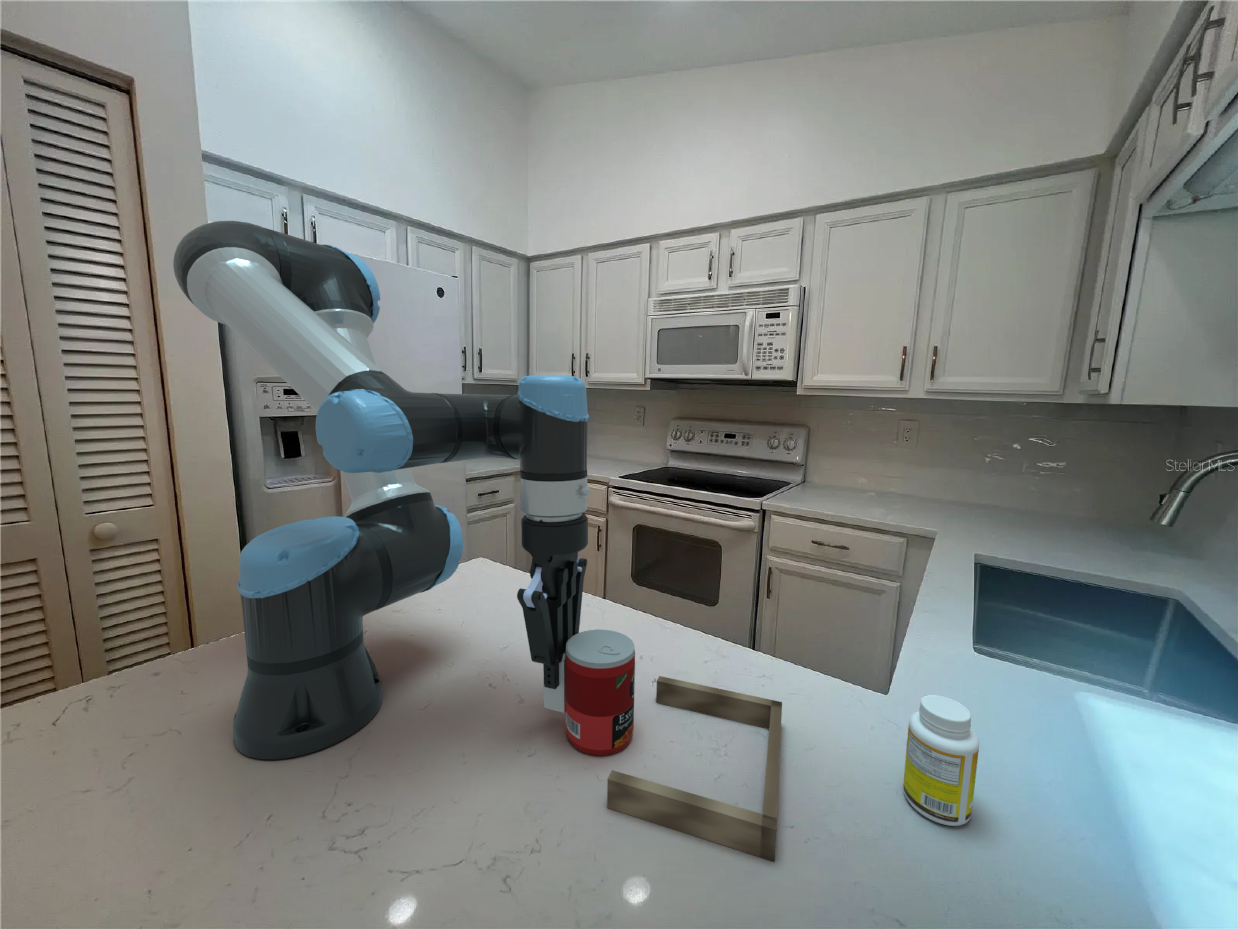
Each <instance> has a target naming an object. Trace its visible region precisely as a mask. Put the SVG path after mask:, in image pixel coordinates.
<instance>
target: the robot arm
mask: <svg viewBox="0 0 1238 929" xmlns="http://www.w3.org/2000/svg"><path fill="white" fill-rule="evenodd" d="M172 264H173V265H172V266H173V271H174V272H173V273H174V277H175V279H176V282H177V284H178V286H179V288H180V290H181V291H182V292H183V294H184V295H185V297H186V298H187V300H189V301H190V303H191V304H192V305H193V306H195V307H196V309H197V310H198V311H199V312H201V313H202V314H203V315H204V316H206V317H208V318H209V319H211V320H213V321H215V322H217V323H219V324H223V325H226V326H228V327H229V328H230V329H231V330H232V331H233V332H234V333H235V334H237V336H238V337H239V338H241V339H242V340H243V341H244V343H246V344H247V345H248V346H249V347H250V348H251V349H252V350H253V352H254V353H256V354H257V355H258V356H259V357H260V358H261V359H262V360H263V361H264V362H265V363H266V364H267V365H268V366H269V367H270V368H271V369H272V370H273V371H274V372H275V373H276V374H277V375H278V376H280V378H282V379H283V381H285V382H286V383H287V385H289V386H290V387H291V388H292V389H293V390H294V391H295V392H296V393H297V394H298V395H299V396H300V397H301V398H302V399H303V400H304V401H305V402H306V403H307V404H308V405H309V406H310V407H312V409H313V410H314V411H315V412H316V413H317V414H316V418H315V433H316V440H317V443H318V445H319V446H320V447H322V455H323V458H325V460H326V461H327V462H328V463H329V464H330V465H331V466H332V467H333V468H334V469H336V470H339V471H340V472H342V475H343V478H344V482H345V484H346V487H347V490H348V493H349V497H350V500H351V504H350V506H349V508H348V509H347V511H346V513H345V514H344V516H320V517H318V518H314V519H309V518H308V519H303V520H298V521H294V522H290V523H287V524H283V525H281V526H277V527H275V528H272V529H270V530H268V531H266V532H263V533H261V534H259V535H258V536H255V537H254V538H253V539H251V540H250V541H249V543H247V544H246V545H245V546H244V547H243V549H242V550H241V552H240V555H239V559H238V561H239V562H238V563H239V567H238V569H239V570H238V571H239V573H238V575H239V576H238V583H237V590H238V592H239V594H240V604H241V612H242V613H241V614H242V620H243V621H242V622H243V631H244V640H245V641H244V642H245V651H246V652H245V653H246V660H247V673H246V674H247V675H246V677H245V681H244V684H243V687H242V691H241V693H240V697H239V702H238V704H237V705H238V706H237V710H236V711H235V713H234V716H233V723H232V728H233V739H234V745H235V747H236V749H237V750H238V751H239V752H240V753H241V754H242V755H244V756H246V757H249V758H253V759H257V760H281V759H291V758H296V757H300V756H304V755H308V754H311V753H315V752H317V751H320V750H323V749H325V748H328V747H330V746H333V745H335V744H336V743H339V742H341V741H343V740H345V739H346V738H348V737H350V736H352V735H353V734H356V732H358V731H360V730H361V729H362V728H363V727H364V726H366V725H367V724H368V723H369V722H370V721H371V720H372V719H373V718H374V717H375V716H376V714H377V713H378V711H379V710H380V708H381V707H382V703H383V698H384V696H383V682H382V679H381V675H380V673H379V672H378V669H377V667H376V665H375V663H374V661H373V658H372V657H371V654H370V653H369V650H368V649H367V646H366V645H365V639H364V623H363V622H364V620H363V619H364V618H363V617H364V616H366V615H368V614H370V613H372V612H375V611H378V610H380V609H383V608H386V607H388V606H390V605H393V604H395V603H397V602H400V601H403V600H405V599H407V598H410V597H412V596H415V595H417V594H422V593H424V592H427V591H430V590H433V589H434V588H435V587H436V586H438V585H440V584H441V583H444V582H446V581H447V580H449V579H450V578H451V577H452V576H453V575H454V574H455V572H456V571H457V570H458V568H459V564H460V561H461V560H462V558H463V552H464V537H463V531H462V530H463V529H462V527H461V525H460V521H459V520H458V518H457V517H456V515H455V514H454V513H452V512H450V509H448V508H447V507H444V506H442V505H441V506H440V505H438V504H435V503H434V500H433V496H432V493H431V491H430V490H429V489H427V488H424V487H422V486H420V485H419V484H417V483H416V481H415V478H414V475H413V472H412V469H411V468H416V467H417V468H418V467H422V466H428V465H430V466H431V465H437V464H445V463H455V462H460V461H468V460H469V461H471V460H476V459H477V460H478V459H487V458H488V459H489V458H490V459H491V458H494V459H511V460H519V468H520V469H519V471H520V474H519V475H520V511H521V512H522V513H523V514H524V516H523V517H522V518H521V520H520V522H521V525H520V526H521V528H520V529H521V547H522V548H523V550H525V551H526V552H527V553H528V554H530V556H531V558H532V559H531V565H530V570H529V576H530V583H529V585H528V586H527V587H526V588H519V589H518V590H517V594H516V599H517V601H518V603H519V604H520V606H521V608H522V612H523V619H524V625H525V630H526V637H527V643H528V647H529V648H528V649H529V653H530V654H529V655H530V658H531V661H532V662H534V663H538V664H543V667H542V668H543V669H542V670H543V708H544V709H548V710H552V711H555V712H559V713H563V714H566V700H565V650H566V643H567V641H568V640H569V639H570V638H571V637H572V636H574V635H575V634H578V633H580V626H581V614H582V613H581V612H582V603H583V591H584V581H585V575H586V570H587V566H588V560H587V558H585V557H579V552H581V551H582V550H584V549H586V548H587V545H588V544H589V517H588V516H587V514H586V511H587V510H588V496H589V495H590V494H591V491H592V490H591V488H590V486H588V428H589V427H588V425H589V420H590V415H589V412H588V400H587V387H586V383H585V382H584V380H583V379H582V378H580V377H577V376H574V375H561V374H560V375H555V374H552V375H551V374H537V375H535V374H534V375H524V376H523V377H521V378H520V379H519V381H518V390H517V392H516V393H515V394H479V393H438V392H437V393H436V392H414V391H413V392H412V391H410V390H407V389H405V388H404V387H403V386H401V384H399V383H398V382H397V381H396V380H394V379H393V378H392V377H390V376H389V375H388V374H387V373H386V372H384V370H382V369H381V368H380V367H379V366H378V365H376V361H375V359H374V356H373V352H372V350H371V347H370V344H369V340H368V338H369V336H370V335H371V334H372V332H373V330H374V327H375V326H374V324H375V323H376V321H377V319H378V316H379V314H380V309H381V306H380V305H379V304H378V303H379V302H380V301H381V293H380V292H381V291H380V288H379V284H378V281H377V279H376V276H375V274H374V273H373V271H372V269H371V268H370V266H369V265H367V263H366V262H365V261H363V259H361V258H360V257H359V256H357V255H355V254H353V253H349V252H348V251H344V250H342V249H341V248H340V247H336V246H334V245H331V244H320V243H316V242H313V241H310V240H307V239H302V238H299V237H296V236H293V235H290V234H287V233H284V232H280V231H277V230H275V229H270V228H266V227H264V226H261V225H258V224H254V223H251V222H246V221H239V220H237V221H236V220H218V221H217V220H216V221H212V222H208V223H204V224H202V225H200V226H197V227H195V228H194V229H192V230H190V231H189V232H187V233H186V234H185V235H184V236H183V237H182V238H181V240H180V242H178V244H177V246H176V249H175V252H174V255H173V262H172ZM378 301H379V302H378Z"/></svg>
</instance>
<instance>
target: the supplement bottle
mask: <svg viewBox="0 0 1238 929" xmlns="http://www.w3.org/2000/svg"><path fill="white" fill-rule="evenodd" d="M971 722H972V714H971V712H970V711H969V709H968V708H967V707H966V706H964V705H963V704H962V703H960V702H958V701H956V700H954V699H951V698H949V697H946V696H942V695H938V694H928V695H925V696H922V697H921V699H920V704H919V708H918V711H917V710H916V711H915V712H913V713H912V714H911V716H910V717H909V720H908V727H907V740H906V749H905V750H906V752H905V762H904V772H903V785H902V786H903V787H902V788H903V793H904V796H905V798H906V800H907V801H908V802H909V804H910V805H911V806H912V807H913V808H914V810H916V811H917V812H918V813H919V814H921V815H922V816H923V817H925V818H927V819H929V820H931V821H933V822H935V823H938V824H942V825H945V826H952V827H959V826H962V825H964V824H967V823H968V822H969V820H970V819H971V817H972V814H973V813H972V811H973V803H974V795H975V784H976V779H977V778H976V777H977V769H978V759H979V752H980V751H979V750H980V739H979V738H978V736H977V733H976V732H975V731H974V730H973V729H972V723H971Z"/></svg>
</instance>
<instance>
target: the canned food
mask: <svg viewBox="0 0 1238 929" xmlns="http://www.w3.org/2000/svg"><path fill="white" fill-rule="evenodd" d="M635 648H636V647H635V642H634V641H633V640H632V639H631V638H630V637H629V636H628V635H626V634H624V633H621V632H618V631H616V630H610V629H609V630H608V629H589V630H584V631H579V633H578V634H575V635H574V636H572V637H571V638H570V639H569V640H568V641H567V643H566V650H565V700H566V711H565V731H566V734H567V737H568V740H569V742H570V744H571V745H572V746H573V747H574V748H575V749H577V750H578V751H581V752H583V753H584V754H587V755H592V756H606V755H607V756H609V755H612V754H616V753H617V752H619V751H622V750H623V749H624V748H626V747H627V745H629V743H630V741H631V739H632V736H633V734H634V729H635V728H634V726H635V724H634V720H635V686H636V685H635V684H636V683H635V680H636V679H635V677H636V676H635V675H636V672H635V671H636V670H635V669H636V649H635Z"/></svg>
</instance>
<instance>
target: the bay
mask: <svg viewBox="0 0 1238 929" xmlns="http://www.w3.org/2000/svg"><path fill="white" fill-rule="evenodd" d="M655 694H656V697H655V703H657V704H659V705H660V704H662V705H665V706H670V707H674V708H677V709H682V710H687V711H691V712H695V713H699V714H705V715H707V716H708V715H709V716H712V717H716V718H720V719H725V720H729V721H734V722H738V723H742V724H747V725H751V726H756V727H760V728H763V729H768V738H767V739H768V742H767V754H766V755H767V756H766V765H765V780H764V790H763V791H764V792H763V804H762V813H760V812H757V811H754V810H750V809H747V808H743V807H739V806H736V805H733V804H729V803H726V802H724V801H719V800H716V799H713V798H709V797H706V796H702V795H699V794H697V793H691V792H689V791H685V790H682V789H677V788H674V787H671V786H667V785H664V784H661V783H659V782H655V781H651V780H648V779H646V778H645V779H644V778H641V777H637V776H635V775H630V774H628V773H624V772H620V771H616V770H615V769H614V770H613V769H611V771H610V773H609V775H608V777H607V779H606V781H607V783H606V786H607V787H606V789H607V790H606V791H607V793H606V795H607V796H606V799H607V800H606V803H607V804H606V808H608V809H610V810H613V811H617V812H619V813H623V814H625V815H629V816H632V817H635V818H638V819H641V820H645V821H647V822H650V823H654V824H657V825H660V826H663V827H667V828H670V829H672V830H676V831H679V832H682V833H684V834H687V835H691V836H695V837H696V838H699V839H700V838H701V839H703V840H706V841H708V842H713V843H716V844H718V845H722V846H724V847H725V846H726V847H728V848H731V849H735V850H738V851H740V852H743V853H747V854H749V855H752V856H756V857H760V858H762V859H765V860H768V861H771V862H774V863H775V859H776V846H777V845H776V843H777V825H778V824H777V823H778V806H779V805H778V803H779V781H780V759H781V758H780V757H781V738H782V736H781V735H782V718H783V717H782V716H783V714H782V713H783V711H782V710H783V701H780V700H779V701H778V700H775V699H771V698H770V699H769V698H765V697H760V696H756V695H750V694H745V693H741V692H736V691H732V690H728V689H723V688H718V687H712V686H709V685H703V684H699V683H694V682H690V681H685V680H680V679H675V678H672V677H667V676H663V675H659V676H658V678H657V679H656V693H655Z"/></svg>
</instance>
